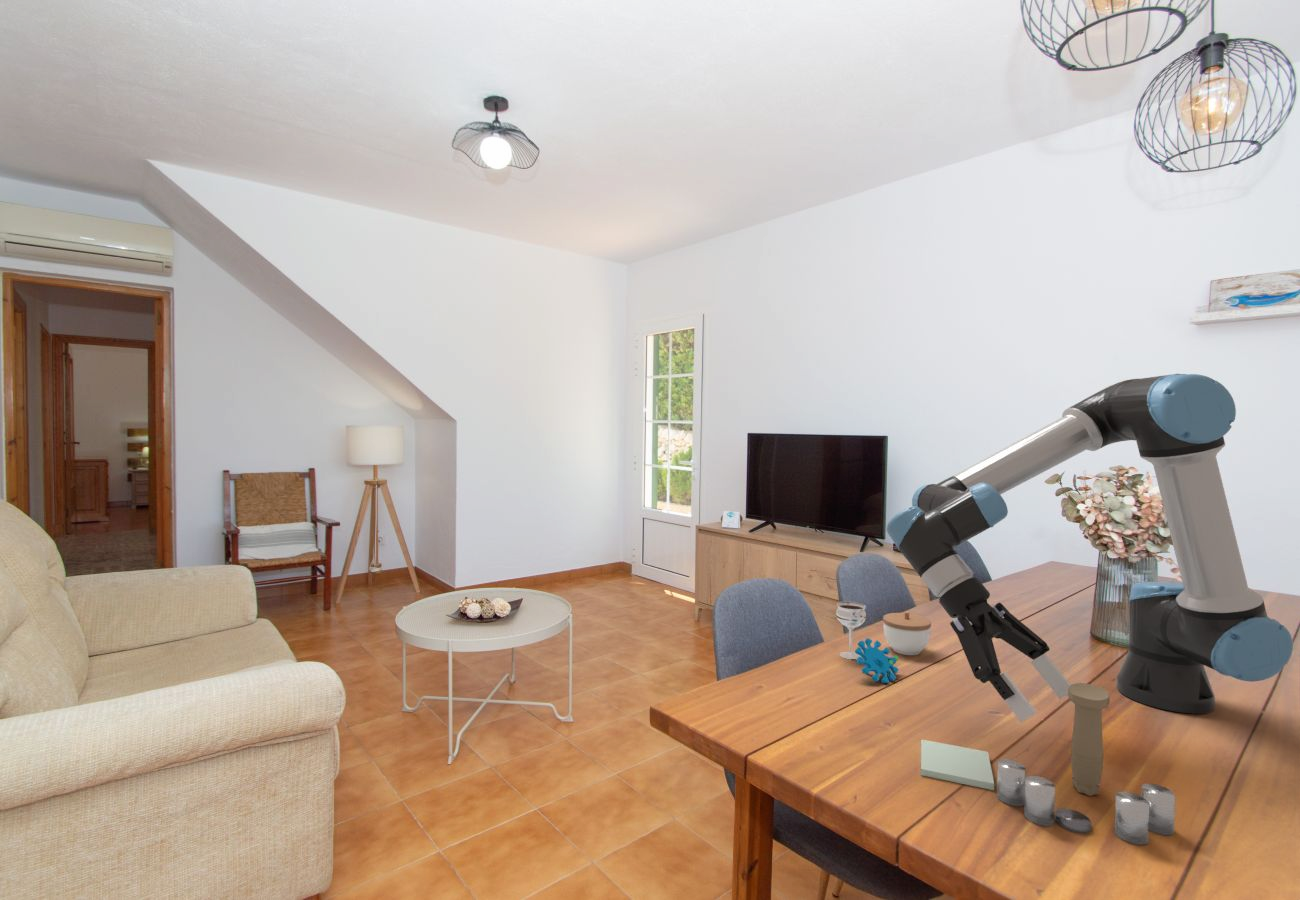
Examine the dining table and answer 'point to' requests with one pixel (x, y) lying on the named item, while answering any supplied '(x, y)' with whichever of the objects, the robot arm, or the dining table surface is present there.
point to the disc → (1073, 820)
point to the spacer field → (1130, 809)
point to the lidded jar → (906, 632)
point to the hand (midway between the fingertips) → (1049, 706)
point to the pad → (956, 764)
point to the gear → (876, 661)
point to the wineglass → (850, 621)
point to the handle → (1087, 736)
